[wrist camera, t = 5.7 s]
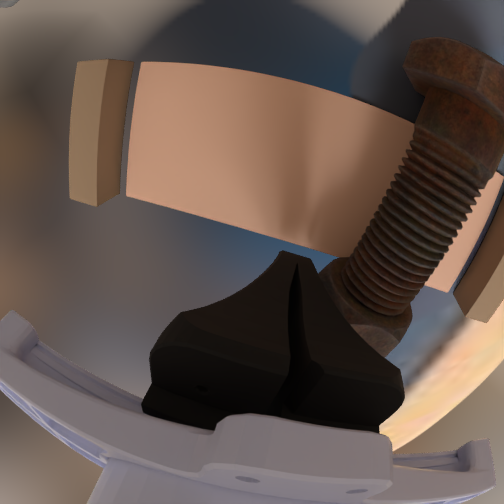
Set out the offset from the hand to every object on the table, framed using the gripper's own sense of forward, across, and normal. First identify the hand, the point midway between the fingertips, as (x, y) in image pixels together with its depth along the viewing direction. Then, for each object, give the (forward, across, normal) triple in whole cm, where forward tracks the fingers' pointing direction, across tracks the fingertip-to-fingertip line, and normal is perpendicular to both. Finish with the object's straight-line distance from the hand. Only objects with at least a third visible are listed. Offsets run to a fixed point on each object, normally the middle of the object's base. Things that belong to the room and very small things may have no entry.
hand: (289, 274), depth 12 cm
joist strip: (+2, 0, -4) cm, 4 cm away
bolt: (+2, -4, -3) cm, 5 cm away
